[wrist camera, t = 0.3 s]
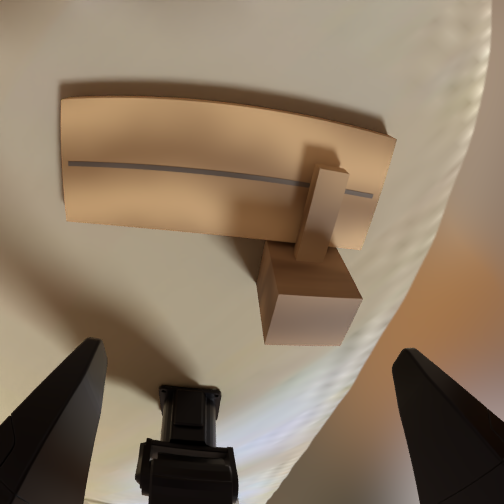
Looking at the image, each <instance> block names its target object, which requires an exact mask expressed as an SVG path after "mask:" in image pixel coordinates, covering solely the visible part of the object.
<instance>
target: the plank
mask: <svg viewBox="0 0 504 504" xmlns="http://www.w3.org/2000/svg"><path fill="white" fill-rule="evenodd" d="M396 140H397V139H395V138H393V137H391V136H389V135H386V134H383V133H379V132H376V131H372V130H368V129H365V128H361V127H357V126H353V125H349V124H345V123H341V122H337V121H332V120H328V119H323V118H319V117H314V116H309V115H304V114H299V113H294V112H288V111H283V110H277V109H271V108H265V107H258V106H251V105H244V104H236V103H228V102H220V101H210V100H199V99H187V98H173V97H153V96H81V97H68V98H65V99H61V160H62V177H63V190H64V201H65V211H66V219H67V221H70V222H81V223H93V224H105V225H116V226H128V227H139V228H150V229H160V230H171V231H182V232H192V233H203V234H213V235H223V236H233V237H243V238H253V239H263V240H272V241H282V242H291V243H296V239H297V235H298V231H299V227H300V224H301V220H302V216H303V212H304V208H305V204H306V200H307V196H308V192H309V188H310V183H311V179H312V175H313V171H314V167H315V163H317V164H323V165H328V166H333V167H339V168H344V169H345V170H346V171H347V172H348V173H349V174H350V175H349V179H348V182H347V186H346V189H345V193H344V196H343V200H342V203H341V207H340V210H339V213H338V217H337V220H336V223H335V227H334V230H333V233H332V236H331V240H330V243H329V246H328V247H338V248H347V249H355V250H361V249H362V246H363V243H364V240H365V238H366V235H367V232H368V229H369V226H370V224H371V221H372V218H373V215H374V212H375V209H376V206H377V203H378V200H379V197H380V194H381V191H382V188H383V184H384V181H385V178H386V175H387V171H388V168H389V165H390V161H391V158H392V155H393V151H394V148H395V144H396Z"/></svg>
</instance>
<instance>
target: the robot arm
mask: <svg viewBox="0 0 504 504" xmlns="http://www.w3.org/2000/svg"><path fill="white" fill-rule="evenodd" d="M106 370H107V356H106V352H105V348H104V344H103V341H102V340H101V339H98V338H92V337H89V338H87V339H85V340H84V341H83V342H82V343H81V344H80V345H79V346H78V347H77V348H76V349H75V350H74V351H73V352H72V353H71V354H70V355H69V356H68V357H67V358H66V359H65V360H64V361H63V362H62V363H61V364H60V365H59V366H58V367H57V368H56V369H55V370H54V371H53V372H52V373H51V374H50V375H49V376H48V377H47V378H46V379H45V380H44V381H43V382H42V383H41V384H40V385H39V386H38V387H37V388H36V389H35V390H34V391H33V392H32V393H31V394H30V395H29V396H28V397H27V398H26V399H25V400H24V401H23V402H22V403H21V404H20V405H19V406H18V407H17V408H16V409H15V410H14V411H13V412H12V413H11V416H8V417H7V419H6V420H5V421H4V422H3V423H2V424H1V425H0V504H83V502H84V496H85V490H86V483H87V478H88V472H89V467H90V461H91V456H92V451H93V446H94V441H95V437H96V432H97V428H98V423H99V419H100V414H101V408H102V400H103V392H104V385H105V377H106ZM392 374H393V380H394V385H395V391H396V397H397V403H398V408H399V413H400V417H401V421H402V425H403V428H404V433H405V437H406V440H407V445H408V449H409V453H410V458H411V462H412V466H413V471H414V476H415V481H416V485H417V490H418V495H419V501H420V504H504V422H503V421H502V420H501V419H499V418H498V417H497V416H496V415H495V414H493V413H492V412H491V411H490V410H489V409H487V408H486V407H485V406H484V405H483V404H482V403H481V402H479V401H478V400H477V399H476V398H475V397H473V396H472V395H471V394H470V393H469V392H468V391H466V390H465V389H464V388H463V387H462V386H460V385H459V384H458V383H457V382H456V381H454V380H453V379H452V378H451V377H450V376H448V375H447V374H446V373H445V372H443V371H442V370H441V369H440V368H439V367H438V366H436V365H435V364H434V363H433V362H431V361H430V360H429V359H428V358H427V357H425V356H424V355H423V354H422V353H420V352H419V351H418V350H417V349H415V348H405V349H403V350H402V351H401V353H400V354H399V356H398V357H397V359H396V361H395V362H394V364H393V367H392ZM159 396H160V404H161V411H162V416H163V419H162V429H161V441H158V440H152V439H150V438H147V440H146V442H145V443H140V451H139V458H138V464H137V469H136V474H135V480H136V481H137V482H138V483H139V484H140V488H141V489H142V495H145V496H149V504H233V503H235V502H236V501H237V497H238V475H237V470H236V464H235V458H234V452H233V447H227V448H222V447H216V420H217V418H218V412H219V406H220V400H221V392H220V391H218V390H205V389H192V388H180V387H170V386H160V387H159Z"/></svg>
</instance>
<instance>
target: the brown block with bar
mask: <svg viewBox="0 0 504 504" xmlns="http://www.w3.org/2000/svg"><path fill="white" fill-rule="evenodd" d="M349 175H350V174H349V173H348V172H347V171H346V170H345V169H344V168H339V167H333V166H328V165H323V164H317V163H315V167H314V171H313V175H312V179H311V183H310V188H309V192H308V196H307V200H306V204H305V208H304V212H303V216H302V220H301V224H300V227H299V231H298V235H297V239H296V243H291V242H282V241H272V240H265V245H264V250H263V255H262V259H261V264H260V269H259V274H258V278H257V283H256V285H257V292H258V300H259V307H260V314H261V322H262V329H263V336H264V343H265V345H298V346H340V345H341V343H342V341H343V339H344V337H345V335H346V333H347V331H348V329H349V327H350V325H351V323H352V321H353V319H354V317H355V315H356V313H357V310H358V308H359V306H360V304H361V302H362V300H363V299H362V297H361V295H360V293H359V291H358V289H357V287H356V285H355V283H354V281H353V279H352V277H351V275H350V273H349V271H348V269H347V267H346V265H345V263H344V261H343V260H342V258H341V256H340V254H339V252H338V250H337V248H336V247H328V246H329V243H330V240H331V236H332V233H333V230H334V227H335V223H336V220H337V217H338V213H339V210H340V207H341V203H342V200H343V196H344V193H345V189H346V186H347V182H348V179H349Z"/></svg>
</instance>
